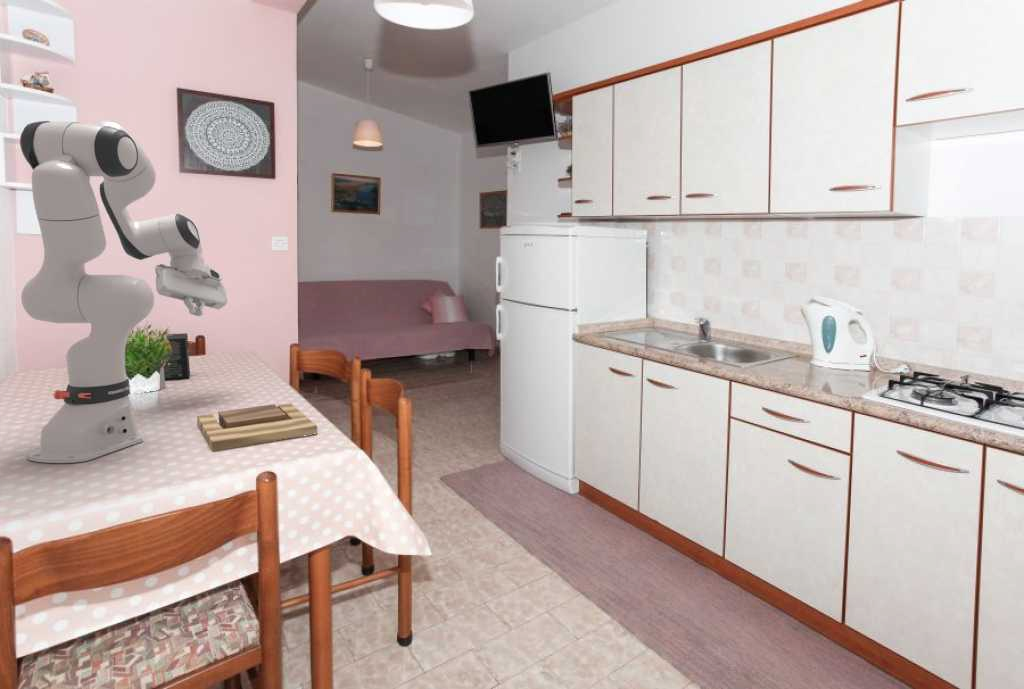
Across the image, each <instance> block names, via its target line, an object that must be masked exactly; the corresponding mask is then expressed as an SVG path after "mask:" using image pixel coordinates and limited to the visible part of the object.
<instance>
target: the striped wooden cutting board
mask: <svg viewBox="0 0 1024 689" xmlns="http://www.w3.org/2000/svg"><path fill="white" fill-rule="evenodd" d="M277 407H278V408H279V409H280V410H282V411H283V412H284V413H285V414H286V420H283V421H276V422H269V423H262V424H255V425H248V426H241V427H234V428H227V429H223V428H222V426H221V425H220V424H219V421H217V419H216V418H215V416H214V414H213V413H208V414H207V413H206V414H199V415H196V421H197V426H198V427H199V429H200V431H201V433H202V434H203V437H204V438H205V440H206V442H207V443H208V446H209V447H210V449H211V451H212V452H216V451H222V450H229V449H235V448H241V447H247V446H252V445H260V444H266V443H272V442H271V441H273V442H278V441H277V440H279V441H283V440H282V439H285V440H288V439H287V438H291V439H294V438H293V437H298V438H300V437H299V436H304V435H309V434H314V433H317V434H318V425H317V424H316V423H315V422H313V421H312V420H311V419H310V418H308V417H307V416H306V415H305V414H304V413H303V412H302V411H300V410H299V409H298V408H297V407H296V406H294V405H293V404H292V403H291V402H290V403H284V404H277ZM304 437H305V436H304Z"/></svg>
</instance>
